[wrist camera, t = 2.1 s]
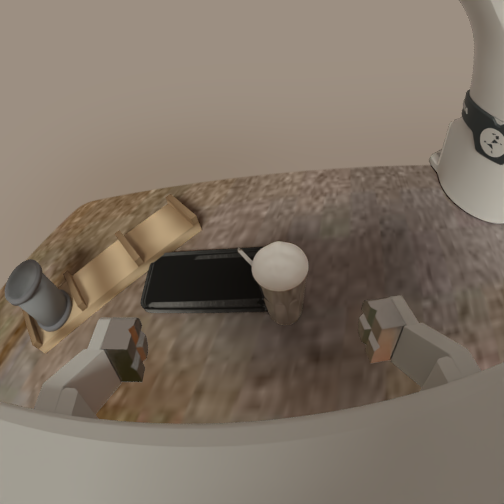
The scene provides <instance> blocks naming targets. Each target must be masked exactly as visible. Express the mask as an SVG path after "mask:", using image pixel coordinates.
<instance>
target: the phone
mask: <svg viewBox="0 0 504 504" xmlns="http://www.w3.org/2000/svg"><path fill="white" fill-rule="evenodd" d="M262 248H263V247H254V248H241V249H242V250H243V252H244V253H245V254H246V255H247V256H248V257H249V258H250V259H251V260H252V261H253V259H254V257H255V255H256V254H257V252H258V251H259V250H260V249H262ZM141 306H142V307H143V308H144V309H145V311H147V312H150V313H229V312H265V311H268V309H267V307H266V304H265V302H264V299H263V297H262V294H261V292H260V290H259V288H258V285H257V283H256V281H255V279H254V277H253V274H252V266H251V265H250V264H249V263H248V262H247V261H246V260H245V259H244V258H243V257H242V256H241V255H240V253H239V252H238V248H236V249H219V250H202V251H185V252H168V253H164V255H163V256H161V257H160V258H159V259H157V260H156V261H155V262H152V263H151V264H150V266H149V270H148V274H147V278H146V281H145V285H144V289H143V293H142V298H141Z"/></svg>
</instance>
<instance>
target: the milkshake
mask: <svg viewBox="0 0 504 504" xmlns="http://www.w3.org/2000/svg"><path fill="white" fill-rule="evenodd" d="M238 252H239V253H240V255H241V256H242V257H243V258H244V259H245V260H246V261H247V262H248V263H249V264H250V265H251V266H252V274H253V277H254V279H255V281H256V283H257V285H258V288H259V290H260V292H261V294H262V297H263V299H264V302H265V304H266V307H267V309H268V312H269V315H270V317H271V319H272V320H273V321H275V322H276V323H277V324H278V325H288V326H289V325H291V324H293V323H295V322H296V321H298V319H299V317H300V315H301V313H302V309H303V301H304V293H305V285H306V279H307V274H308V260H307V257H306V255H305V254H304V252H303V251H302V250H301V249H300V248H299V247H298V246H296V245H294V244H292V243H287V242H281V241H276V242H273V243H271V244H269V245H267V246H265V247H263V248H262V249H260V250H259V251H258V252H257V254H256V255H255V257H254V259H253V261H252V260H251V259H250V258H249V257H248V256H247V255H246V254H245V253H244V252H243V250H242V249H241V248H240V247H238Z"/></svg>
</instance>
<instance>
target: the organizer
mask: <svg viewBox="0 0 504 504" xmlns="http://www.w3.org/2000/svg"><path fill="white" fill-rule="evenodd" d="M166 199H167V202H168V204H167V205H166V206H164V207H163V208H161V209H160V210H158V211H157V212H156V213H154V214H153V215H151V216H150V217H149V218H147V219H146V220H144V221H143V222H142V223H140V224H139V225H138V226H136V227H135V228H133V229H132V230H131V231H129V232H128V233H127V234H125V235H124V236H123V234H122V233H121V232H120V230H119V231H118V232H116V233H115V235H116V237H117V238H118V240H117V241H116V242H115V243H113V244H112V245H111V246H110V247H108V248H107V249H106V250H104V251H103V252H102V253H100V254H99V255H98V256H97V257H95V258H94V259H93V260H92V261H90V262H89V263H88V264H86V265H85V266H84V267H83V268H82V269H80V270H79V271H78V272H77V273H75V274H74V275H73V276H72V275H71V274H70V273H69V271H67V272H65V273H64V274H63V275H64V277H65V280H66V282H64V283H63V284H62V285H61V286H60V287H58V289H61V290H64V291H65V292H67V293H68V294H69V296H70V297H71V299H72V310H71V314H70V316H69V318H68V320H67V321H66V323H65V324H64V325H63V326H62V327H61V328H59V329H58V330H56V331H53V332H47V331H45V330H43V329H42V328H41V327H40V326H39V325H38V323H37V320H35V319H34V318H33V317H32V316H30V315H29V314H28V313H27V312H26V311H24V310H22V311H23V315H24V318H25V322H26V325H27V329H28V332H29V335H30V339H31V342H32V345H33V346H35V347H36V348H38V349H39V350H41V351H42V352H44V353H45V354H46V353H47V352H49V351H50V350H51V349H52V348H53V347H54V346H56V345H57V344H58V343H59V342H60V341H61V340H63V339H64V338H65V337H66V336H67V335H69V334H70V333H71V332H72V331H73V330H75V329H76V328H77V327H78V326H79V325H81V324H82V323H83V322H84V321H86V320H87V319H88V318H89V317H90V316H92V315H93V314H94V313H95V312H97V311H98V310H99V309H100V308H102V307H103V306H104V305H105V304H106V303H108V302H109V301H110V300H111V299H113V298H114V297H115V296H116V295H118V294H119V293H120V292H122V291H123V290H124V289H125V288H127V287H128V286H129V285H130V284H132V283H133V282H134V281H136V280H137V279H138V278H139V277H141V276H142V275H143V274H145V273H146V272H147V271H148V270H149V266H150V264H151V263H152V262H155V261H156V260H157V259H159V258H160V257H161V256H163V255H164V253H168V252H173V251H175V250H176V249H177V248H179V247H180V246H181V245H183V244H184V243H185V242H187V241H188V240H189V239H191V238H192V237H193V236H195V235H196V234H197V233H199V232H200V231H202V229H201V227H200V224H199V222H198V219H197V217H196V215H195V214H194V213H192V212H191V211H190V210H189V209H188V208H187V207H185V206H184V205H183V204H182V203H181V202H179V201H178V200H177V199H176V198H175V197H173V196H172V195H171V194H170V195H168V196H167V197H166Z"/></svg>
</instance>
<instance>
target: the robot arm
mask: <svg viewBox="0 0 504 504" xmlns="http://www.w3.org/2000/svg"><path fill="white" fill-rule="evenodd" d="M459 1H460V3H461V4H462V6H463V8H464V9H465V11H466V14H467V16H468V18H469V21H470V24H471V27H472V31H473V37H474V65H473V74H472V81H471V87H470V90H468V91H467V93H466V97H465V99H464V102H463V110H462V117H460V118H459V119H456V120H454V121H453V122H451V123H450V124H449V128H448V131H447V134H446V138H445V141H444V145H443V148H442V149H441V150H439V151H437V152H435V153H434V154H432V155H431V157H430V160H429V162H430V164H431V166H432V167H433V168H434V169H435V170H436V172H437V174H438V177H439V181H440V183H441V186H442V188H443V189H444V191H445V192H446V194H447V195H448V196H449V197H450V199H451V200H452V201H453V202H454V203H455V204H457V205H458V206H459V207H460V208H462V209H463V210H464V211H466V212H467V213H469V214H471V215H472V216H474V217H476V218H479V219H481V220H484V221H487V222H491V223H504V0H459ZM361 309H362V311H363V314H362V315H361V316H360V317H359V321H358V333H359V337H360V339H361V342H363V343H364V344H366V348H365V352H366V354H367V356H368V359H369V361H370V363H376V362H382V361H388V360H391V362H392V363H393V364H395V365H396V366H397V367H398V368H399V369H401V370H402V371H403V372H404V373H405V374H406V375H408V376H409V377H410V378H411V379H412V380H414V381H415V382H416V383H417V384H418V385H420V386H421V387H422V389H421V390H420V392H417V393H413V394H409V395H406V396H402V397H398V398H394V399H390V400H386V401H382V402H377V403H373V404H368V405H364V406H359V407H354V408H349V409H344V410H338V411H332V412H326V413H320V414H314V415H307V416H300V417H292V418H283V419H274V420H263V421H251V422H235V423H211V424H164V423H140V422H125V421H113V420H103V419H98V418H97V416H96V415H95V414H96V413H97V412H98V411H99V409H100V408H101V407H102V406H103V405H104V403H105V402H106V401H107V400H108V399H109V397H110V396H111V395H112V394H113V393H114V391H115V390H116V389H117V388H118V387H119V385H120V384H121V382H142V381H143V376H144V371H145V367H144V364H143V362H144V361H145V360H146V359H147V355H148V343H147V338H146V335H145V334H144V333H143V332H142V331H141V328H142V324H141V321H140V319H139V318H114V317H113V318H100V319H99V320H98V322H97V325H96V328H95V330H94V333H93V335H92V338H91V341H90V343H89V346H88V349H84V350H82V351H81V352H80V353H79V354H78V355H76V356H75V357H74V358H73V359H72V360H70V361H69V362H68V363H67V364H66V365H64V366H63V367H62V368H61V369H60V370H59V371H57V372H56V373H55V374H54V375H53V376H51V377H50V378H49V379H48V380H47V381H46V382H44V383H43V385H42V388H41V390H40V393H39V396H38V399H37V401H36V404H35V407H34V409H32V408H27V407H22V406H18V405H13V404H9V403H5V402H1V401H0V504H504V362H503V363H500V364H498V365H496V366H493V367H491V368H488V369H486V370H483V371H481V370H480V368H479V366H478V365H477V363H476V361H475V360H474V358H473V356H472V355H471V353H470V352H469V350H468V349H467V348H465V347H463V346H462V345H460V344H458V343H456V342H455V341H453V340H451V339H450V338H448V337H446V336H445V335H443V334H441V333H439V332H438V331H436V330H434V329H433V328H431V327H429V326H427V325H426V324H424V323H419V322H418V320H417V319H416V317H415V316H414V314H413V312H412V311H411V309H410V308H409V306H408V305H407V303H406V301H405V300H404V298H403V297H402V296H400V295H398V296H392V297H386V298H379V299H372V300H365V301H364V302H363V304H362V308H361Z"/></svg>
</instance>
